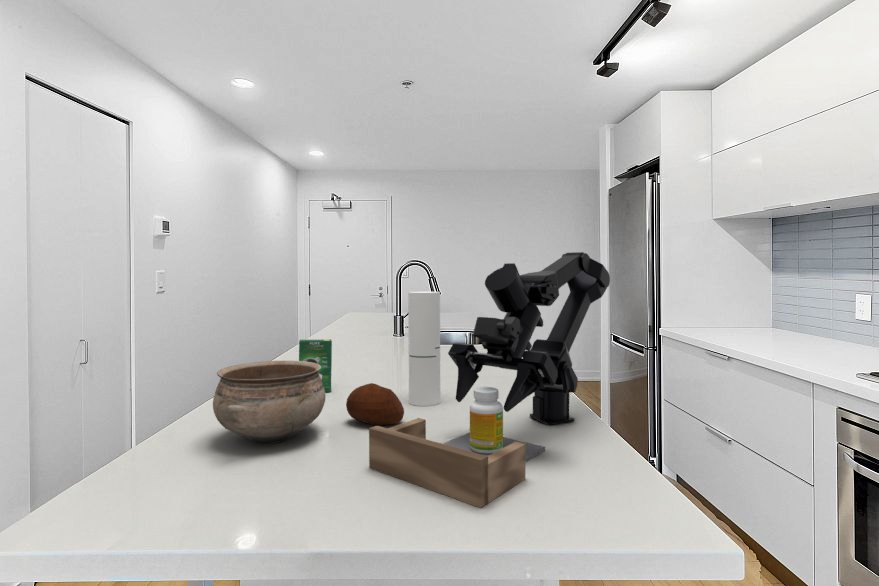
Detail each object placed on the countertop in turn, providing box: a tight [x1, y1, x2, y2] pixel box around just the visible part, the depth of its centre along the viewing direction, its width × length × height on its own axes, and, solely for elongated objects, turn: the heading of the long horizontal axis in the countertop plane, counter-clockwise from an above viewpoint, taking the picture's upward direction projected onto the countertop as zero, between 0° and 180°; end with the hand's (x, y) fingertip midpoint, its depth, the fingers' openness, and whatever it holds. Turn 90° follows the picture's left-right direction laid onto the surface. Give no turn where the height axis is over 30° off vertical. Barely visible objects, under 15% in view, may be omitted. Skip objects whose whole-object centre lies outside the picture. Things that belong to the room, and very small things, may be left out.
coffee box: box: [298, 338, 333, 393], centre depth 121 cm, size 8×3×13 cm, turn 103°
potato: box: [345, 382, 405, 426], centre depth 95 cm, size 8×12×8 cm, turn 85°
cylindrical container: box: [407, 291, 441, 407], centre depth 111 cm, size 7×7×25 cm
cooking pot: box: [212, 360, 327, 444], centre depth 88 cm, size 25×19×12 cm
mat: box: [442, 431, 546, 463], centre depth 81 cm, size 12×14×1 cm
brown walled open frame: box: [368, 417, 527, 509], centre depth 71 cm, size 11×20×6 cm, turn 51°
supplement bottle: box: [469, 386, 504, 454], centre depth 80 cm, size 5×5×10 cm
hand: (480, 405), depth 78 cm, fingers open, 9 cm apart
